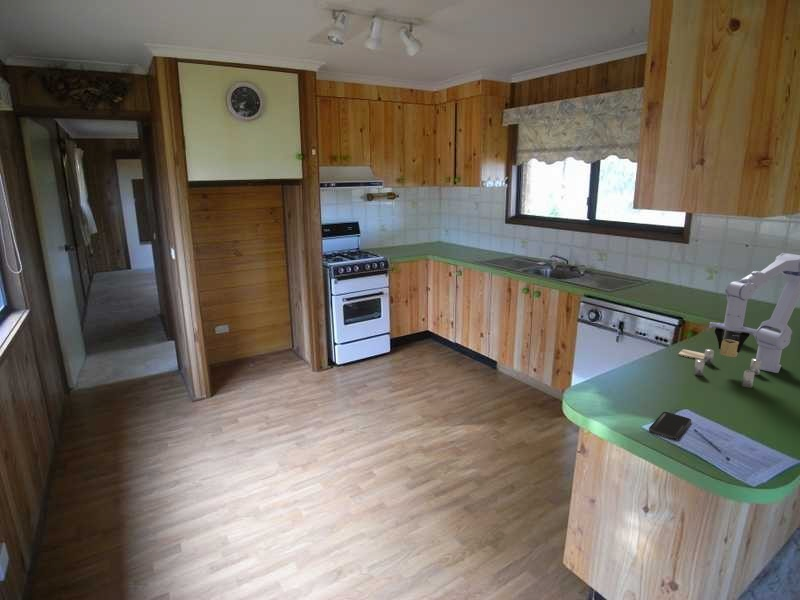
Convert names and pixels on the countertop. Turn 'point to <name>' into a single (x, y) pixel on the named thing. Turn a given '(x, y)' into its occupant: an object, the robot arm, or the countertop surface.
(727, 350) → the brass nut
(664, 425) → the phone
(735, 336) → the supplement bottle
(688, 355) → the oak pad
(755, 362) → the steel spacers
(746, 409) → the countertop surface
